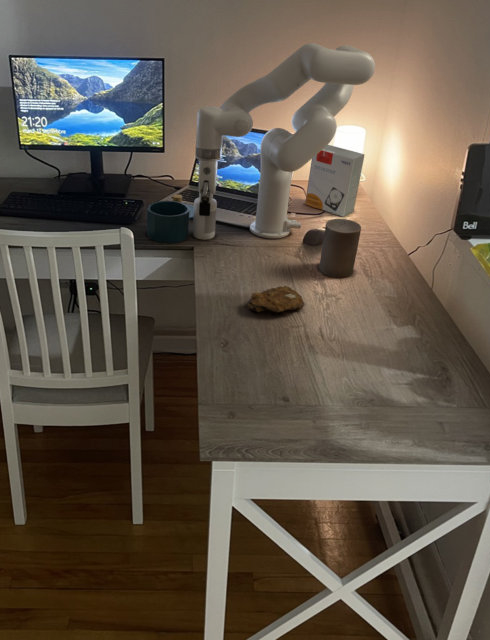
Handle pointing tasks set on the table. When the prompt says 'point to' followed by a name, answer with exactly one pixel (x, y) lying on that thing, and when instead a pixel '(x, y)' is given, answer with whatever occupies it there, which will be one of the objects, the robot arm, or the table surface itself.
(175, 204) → the tin
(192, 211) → the tin lid
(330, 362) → the table surface
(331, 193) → the hard drive box
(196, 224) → the spray bottle
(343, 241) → the pillar candle
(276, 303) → the decorative rock
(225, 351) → the table surface
